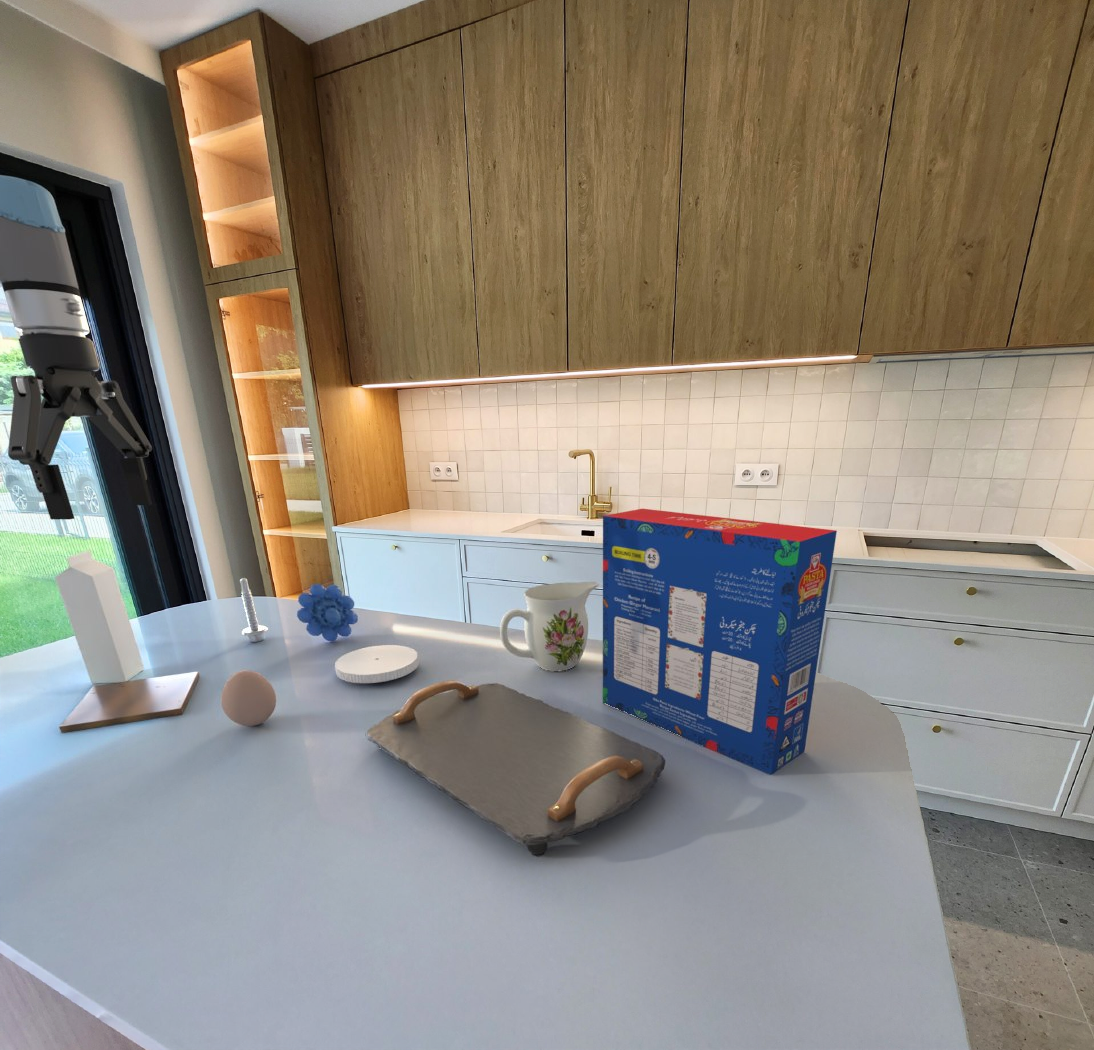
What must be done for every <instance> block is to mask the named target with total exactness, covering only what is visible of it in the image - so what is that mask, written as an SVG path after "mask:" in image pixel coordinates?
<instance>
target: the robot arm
mask: <svg viewBox="0 0 1094 1050" xmlns="http://www.w3.org/2000/svg"><path fill="white" fill-rule="evenodd" d="M55 201H56V200H55V199H54V197H53V195H52V194H51V192H50V191H48V189H46V188H45V187H43V186H42V185H40V184H38V183H37V182H33V181H31V180H27V179H23V178H19V177H16V176H10V175H2V174H0V288H2V290H3V293H4V296H5V299H6V303H7V306H8V311H9V313H10V316H11V320H12V323H13V327H14V329H15V330H17V331H18V332H21V333H22V335H19V338H18V342H19V346H20V349H21V352H22V355H23V359H24V362H25V365H26V367H27V369H29V370H32V371H33V373H34V375H32V374H30V375H28V374H27V375H11V377H10V383H11V388H12V393H13V394H12V395H13V401H12V410H11V411H12V412H11V420H10V428H9V429H10V431H9V438H8V448H7V456H8V458H9V459H10V460H12V461H18V462H19V463H20V464H21V465H23V466H28V467H29V469H30V471H31V475H32V477H33V480H34V481H33V482H34V483H35V487H36V490H37V491H38V492H39V493H41V494H42V496H43V500H44V503H45V507H46V509H47V512H48V516H49V519H50V520H74V519H75V516H74V512H73V508H72V505H71V501H70V499H69V495H68V491H67V488H66V485H65V483H64V479H63V476H62V473H61V469H60V466H59V464H51V462H52V459H53V456H54V453H55V451H56V449H57V446H58V444H59V440H60V438H61V436H62V432H63V430H64V427H65V424H66V422H67V421H68V420H70V419H71V418H85V419H87V420H89V421H91V422H92V423H93V424H94V425H95V426H96V427H97V428H98V429H99V431H100V432H102V434H103V435H104V436H105V437H106V438H107V439H108V440H109V442H111V443H112V445H114V447H116V449H117V450H118V451H119V452H120V453H121V454H122V456H124V457H120V458H119V463H120V466H121V470H122V474H123V477H124V482H125V485H126V489H127V492H128V496H129V500H130V504H131V506H152V505H153V502H152V498H151V494H150V491H149V486H148V482H147V480H148V475H147V472H146V467H145V463H144V459H143V458H148V457H149V455H150V453H149V452H152V450H153V447H152V445H151V443H150V440H148V437H147V436H146V435H145V433H144V431H143V429H142V428H141V426H140V424H139V422H138V421H137V420H136V417H135V416H134V414H133V413H132V411H131V409H130V408H129V406H128V405H127V402H126V401H125V400H124V398H123V397H124V396H123V394H122V391H121V388H120V386H119V383H118V382H117V381H116V380H98V378H97V376H96V372H98V371H99V370H100V363H99V359H98V355H97V352H96V348H95V344H94V341H92V340H91V339H90V338H89V337H86V335H88V334H90V328H89V324H88V320H87V316H86V313H85V309H84V305H83V302H82V299H81V293H80V289H79V284H78V280H77V277H76V271H75V267H74V264H73V260H72V256H71V252H70V248H69V244H68V240H67V236H66V229H65V227H64V226H63V224H62V220H61V218H60V215H59V211H58V209H57V205H56V202H55Z"/></svg>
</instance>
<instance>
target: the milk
mask: <svg viewBox="0 0 1094 1050" xmlns="http://www.w3.org/2000/svg"><path fill="white" fill-rule="evenodd" d="M66 561H67V564H68V567H67V568H66V569H64V570H63V571H62V572H60V573H59V574H58V575H57V576H55V577H54V580H55V582H56V586H57V588H58V591H59V594H60V597H61V600H62V603H63V605H64V608H65V612H66V614H67V617H68V620H69V623H70V625H71V628H72V632H73V635H74V637H75V640H76V642H77V646H78V649H79V651H80V654H81V658H82V660H83V663H84V666H85V668H86V671H87V675H88V677H89V680H90V684H93V685H94V684H95V685H96V684H111V683H118V682H125V681H131V679H133V678H134V677H136V676H137V675H138V674H140V673H141V672H143V671H144V670H145V667H144V664H143V659H142V657H141V653H140V649H139V647H138V644H137V640H136V637H135V634H134V630H133V628H132V624H131V621H130V618H129V614H128V612H127V607H126V605H125V602H124V599H123V596H122V592H121V589H120V585H119V583H118V579H117V575H116V572H115V569H114V567H112V566H110V565H107V564H105V563H103V562H101V561H98V560H96V559H94V558H93V554H92V552H91V550H86V551H82V552H79V553H77V554H73V555H70V556H67V557H66Z"/></svg>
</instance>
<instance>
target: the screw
mask: <svg viewBox="0 0 1094 1050" xmlns="http://www.w3.org/2000/svg"><path fill="white" fill-rule="evenodd" d="M239 584H240V588H241V594H242V595H241V598H242V600H243V606H244V609H245V610H244V611H245V612H246V613H245V614H246V617H247V623H248V627H246V628H244V629H243V630H242V631H241V635H242V636H246V637H248V639H249V640H248V641H249V642H251V643H258V642H262V641H264V639H265V638H264V634H265V633H267V632H268V631H269V629H268V627H266V626H265V625H259V621H258V618H257V613H256V610H255V609H256V607H255V604H254V601H253V600H254V598H253V595H252V592H251V589H250V586H249V583H248V579H247V578H245V577H242V578H241V579H239Z"/></svg>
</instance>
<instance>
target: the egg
mask: <svg viewBox="0 0 1094 1050" xmlns="http://www.w3.org/2000/svg"><path fill="white" fill-rule="evenodd" d="M224 683H225V684H224V686H223V688H222V692H221V696H220V700H221V707H222V710H223V712H224V714H225V716H226V717H227V718H228V719H229V720H231V721H233V723H235V724H238V725H240V726H244V727H254V726H255V727H256V726H258V725H262V724H263V723H264V722H266V721H267V720H268V719H269V718H270V717H271V716H272V714H273V713H274V710H275V709H276V706H277V695H276V691H275V689H274V687H273V685H272V684H271V682H270V681H269V680H268V679H267V678H266V677H265V676H263V675H262V674H260V673H259V672H256V671H254V670H249V669H248V670H247V669H245V670H244V669H243V670H240V671H237V672H235V673H233V674H232V675H231V676H230V677H229V678H228V679H227V680H226V681H225V682H224Z"/></svg>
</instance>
